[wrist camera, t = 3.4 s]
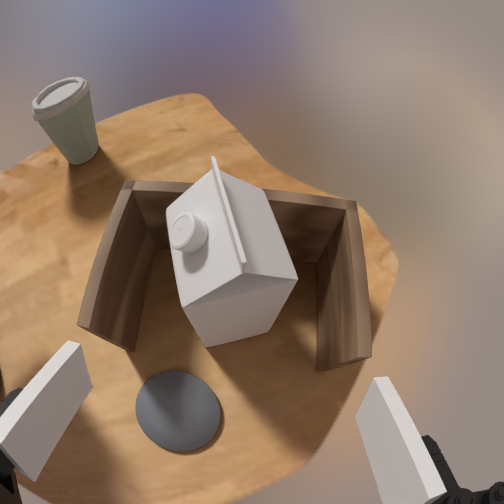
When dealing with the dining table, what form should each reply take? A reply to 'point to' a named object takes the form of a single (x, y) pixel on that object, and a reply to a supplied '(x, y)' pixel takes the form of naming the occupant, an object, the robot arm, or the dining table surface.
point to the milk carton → (228, 258)
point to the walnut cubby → (296, 240)
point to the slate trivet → (178, 411)
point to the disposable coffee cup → (68, 118)
